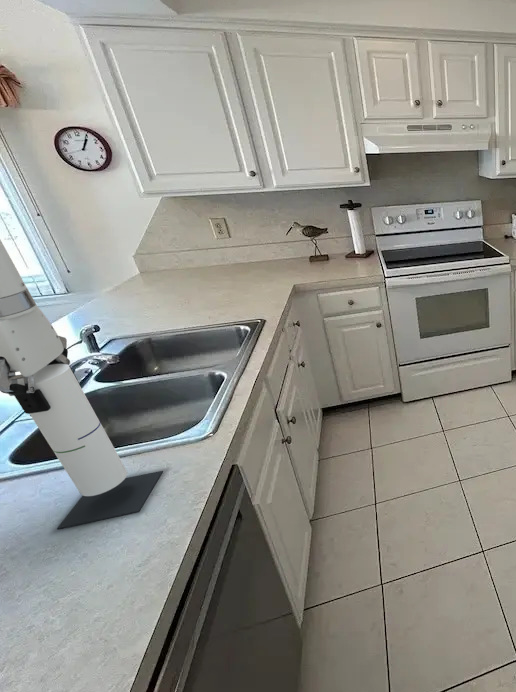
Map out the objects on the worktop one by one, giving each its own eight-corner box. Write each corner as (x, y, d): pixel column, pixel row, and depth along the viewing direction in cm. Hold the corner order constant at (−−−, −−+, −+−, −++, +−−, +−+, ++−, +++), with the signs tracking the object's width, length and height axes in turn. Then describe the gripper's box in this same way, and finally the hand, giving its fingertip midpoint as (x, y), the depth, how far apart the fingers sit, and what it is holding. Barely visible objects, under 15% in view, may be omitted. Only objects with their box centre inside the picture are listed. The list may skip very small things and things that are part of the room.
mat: (57, 529, 77) (56, 528, 77) (91, 485, 86) (90, 484, 86) (139, 511, 80) (138, 510, 80) (163, 471, 90) (162, 470, 89)
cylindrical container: (135, 474, 83) (77, 368, 72) (91, 501, 77) (21, 390, 66) (115, 464, 85) (57, 360, 75) (72, 489, 80) (2, 380, 69)
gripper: (10, 290, 71) (60, 376, 79) (-85, 332, 56) (-12, 434, 64) (63, 285, 73) (106, 370, 81) (-15, 324, 58) (47, 424, 66)
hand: (54, 397), depth 72 cm, fingers closed on cylindrical container, 7 cm apart
